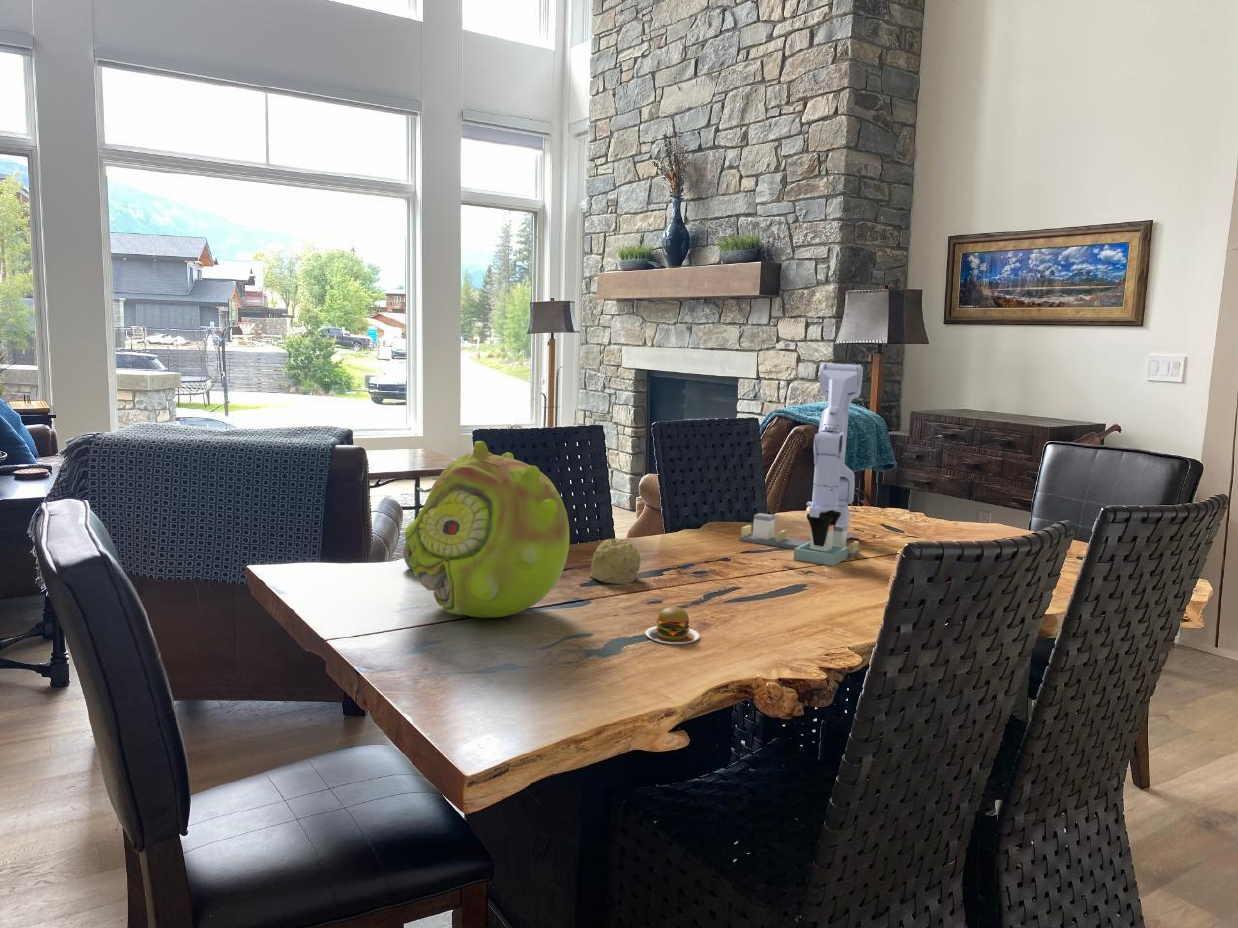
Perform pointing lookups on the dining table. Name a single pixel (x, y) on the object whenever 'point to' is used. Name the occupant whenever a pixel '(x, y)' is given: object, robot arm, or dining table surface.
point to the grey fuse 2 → (839, 535)
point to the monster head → (489, 536)
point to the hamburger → (672, 626)
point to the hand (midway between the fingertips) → (821, 544)
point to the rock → (615, 562)
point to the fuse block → (787, 541)
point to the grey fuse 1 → (763, 526)
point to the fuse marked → (828, 540)
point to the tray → (821, 554)
